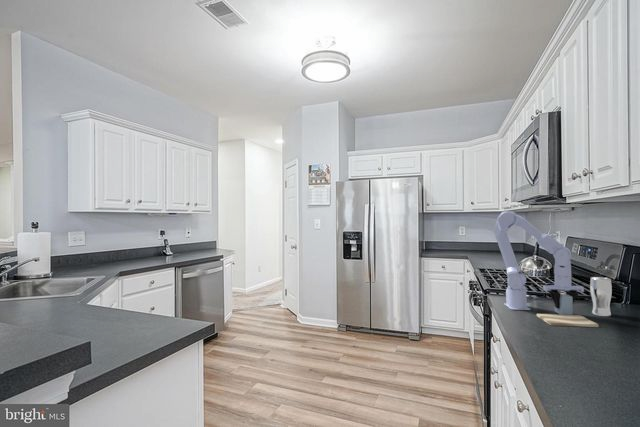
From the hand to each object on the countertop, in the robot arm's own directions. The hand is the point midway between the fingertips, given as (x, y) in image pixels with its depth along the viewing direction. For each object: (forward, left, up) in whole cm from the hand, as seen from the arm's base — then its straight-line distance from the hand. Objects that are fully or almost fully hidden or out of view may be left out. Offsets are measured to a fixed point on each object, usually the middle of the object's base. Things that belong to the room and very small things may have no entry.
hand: (563, 308), depth 140 cm
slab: (0, 0, -2) cm, 2 cm away
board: (+10, -4, -3) cm, 11 cm away
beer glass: (-2, +15, -3) cm, 15 cm away
